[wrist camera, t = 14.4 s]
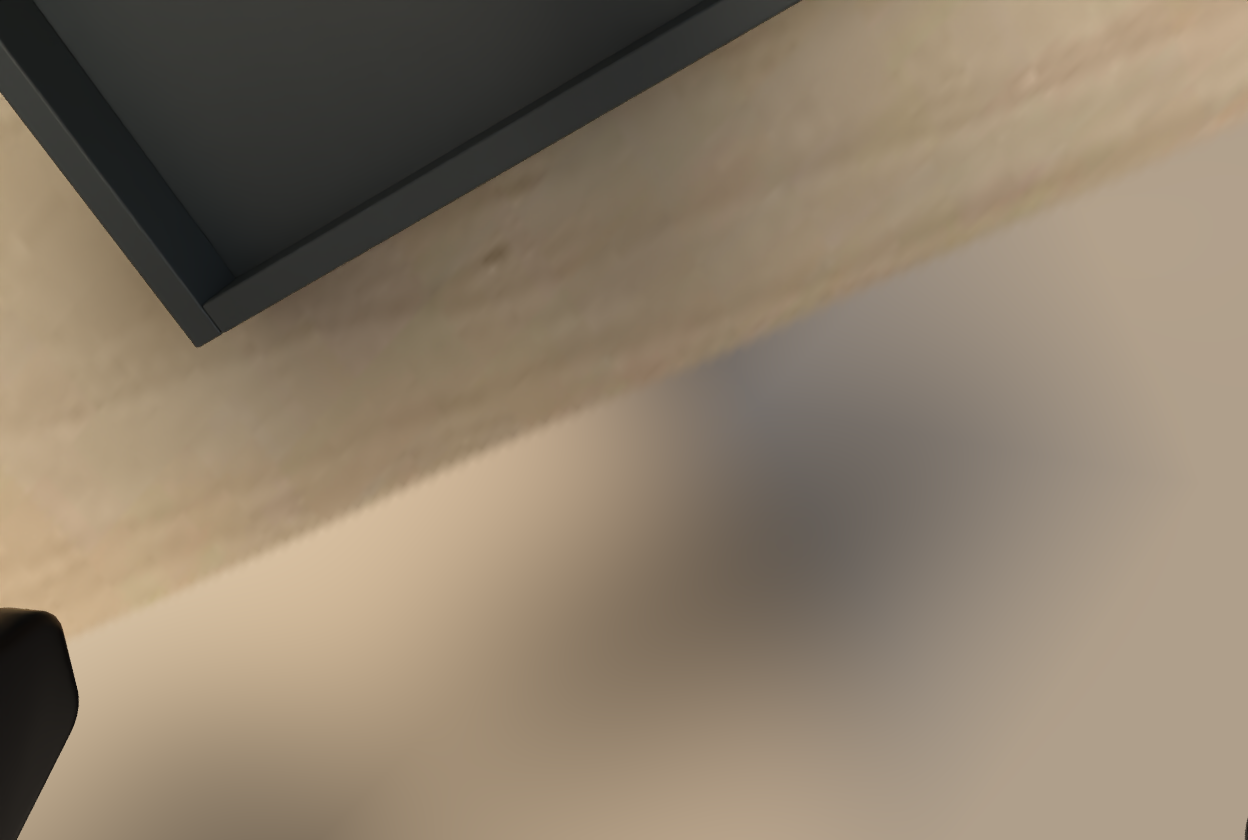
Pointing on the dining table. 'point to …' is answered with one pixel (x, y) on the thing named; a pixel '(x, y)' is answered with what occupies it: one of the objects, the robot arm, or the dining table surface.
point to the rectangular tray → (317, 118)
